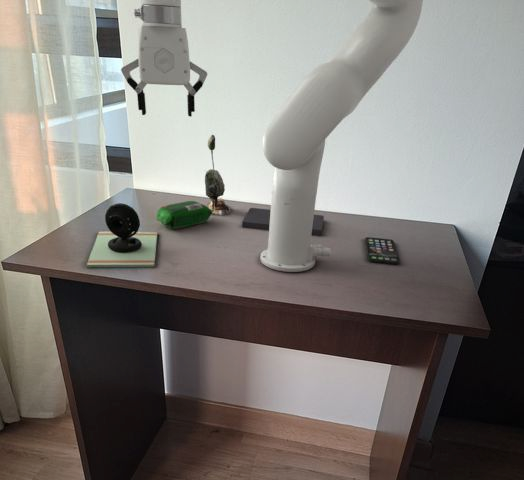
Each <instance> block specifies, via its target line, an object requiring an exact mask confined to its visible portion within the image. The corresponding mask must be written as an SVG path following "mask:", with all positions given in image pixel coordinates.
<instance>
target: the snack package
mask: <svg viewBox="0 0 524 480" xmlns="http://www.w3.org/2000/svg"><path fill="white" fill-rule="evenodd" d="M211 215H213V214H212V210H211V209H209V208H208V207H207V205H205V204H203V203H200V202H198V201H195V200H187V201H182V202H176V203H170V204H166V205H163V206H161V207H159V209H158V210H157V213H156V220H157V222H160V223H161V224H162V225H163V226H165V227H167V228H169V229H171V230H179V229H182V228H187V227H192V226H196V225H199V224H204V223H205V222H206V221H207V220H208V219H210V217H211Z"/></svg>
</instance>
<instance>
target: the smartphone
mask: <svg viewBox="0 0 524 480" xmlns="http://www.w3.org/2000/svg"><path fill="white" fill-rule="evenodd" d="M364 243H365V249H366V254H367V260H368V261H369V262H370V263H381V264H390V265H399V264H400V261H401V260H400V258H399V255H398V251H397V247H396V244H395V241H394V240H393V239H390V238H381V237H380V238H379V237H370V236H369V237H368V236H367V237H365V238H364Z"/></svg>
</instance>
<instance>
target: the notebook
mask: <svg viewBox="0 0 524 480" xmlns="http://www.w3.org/2000/svg"><path fill="white" fill-rule="evenodd" d="M270 212H271V209H267V208H257V207H250V208H249V209H248V211H247V213H246V214H245V216H244V218H243V220H242V223H241V227H242V228H246V229H247V228H248V229H257V230H267V231H269V226H270ZM324 219H325V216H324V215H322V214H315V213H314V218H313V226H312V235H311V236H322V235H323V234H322V233H323V225H324Z"/></svg>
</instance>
